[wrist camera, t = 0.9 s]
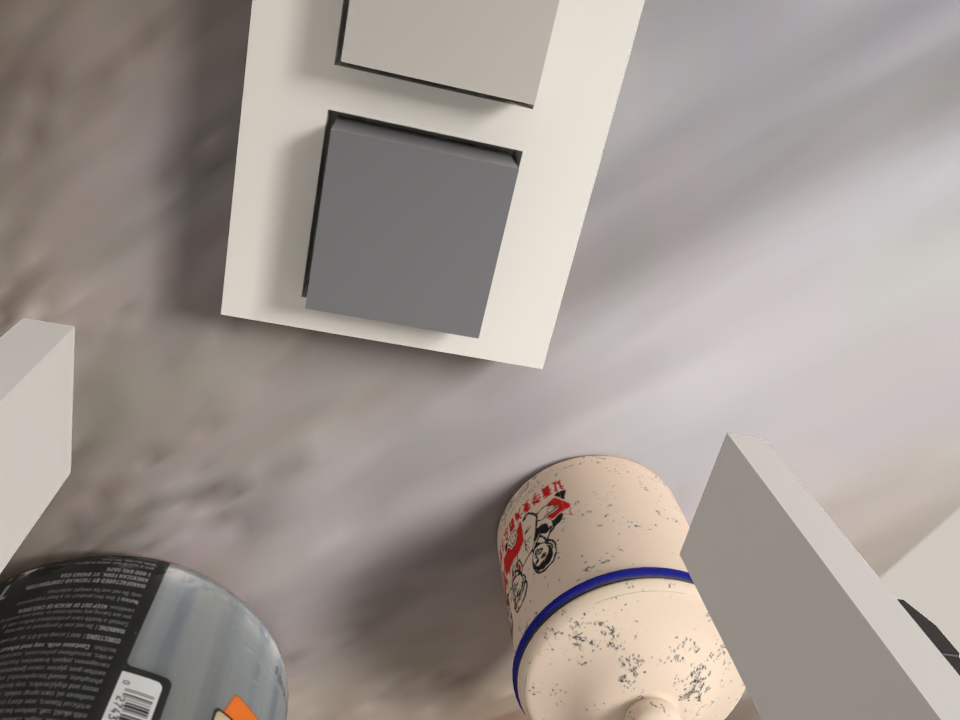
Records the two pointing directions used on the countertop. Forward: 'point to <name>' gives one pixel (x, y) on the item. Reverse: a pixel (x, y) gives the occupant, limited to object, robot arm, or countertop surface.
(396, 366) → the countertop surface
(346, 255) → the charcoal key
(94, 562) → the supplement tub
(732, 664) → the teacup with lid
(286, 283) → the keypad
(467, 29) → the grey key
